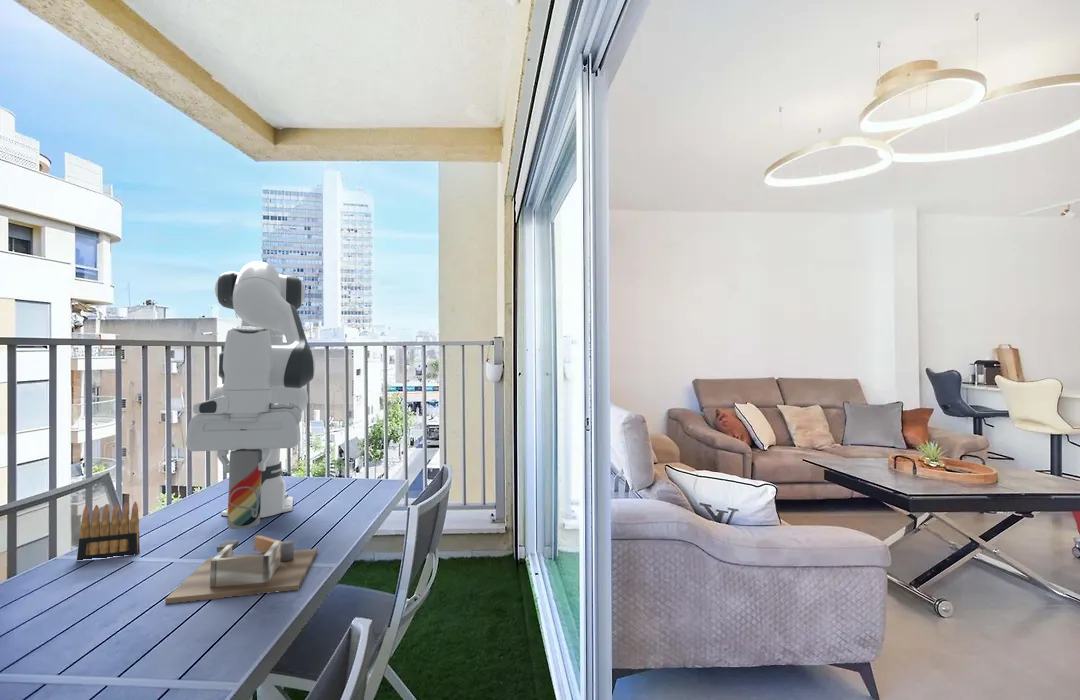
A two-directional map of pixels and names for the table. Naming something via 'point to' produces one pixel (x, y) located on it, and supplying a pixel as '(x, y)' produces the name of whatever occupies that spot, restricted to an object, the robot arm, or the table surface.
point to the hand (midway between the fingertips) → (244, 471)
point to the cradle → (243, 574)
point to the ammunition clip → (109, 533)
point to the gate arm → (265, 543)
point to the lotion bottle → (244, 488)
